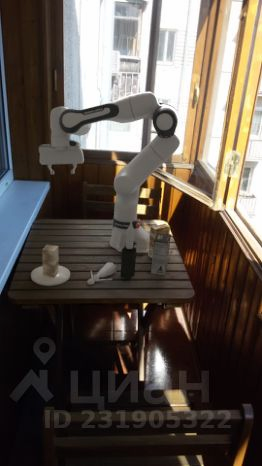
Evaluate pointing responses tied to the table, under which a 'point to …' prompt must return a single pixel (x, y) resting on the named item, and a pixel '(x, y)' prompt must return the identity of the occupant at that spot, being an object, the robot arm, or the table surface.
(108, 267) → the woman figurine
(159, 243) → the coffee box
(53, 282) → the plate
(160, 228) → the candy box
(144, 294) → the table surface
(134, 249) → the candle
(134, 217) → the robot arm
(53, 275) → the maple block
